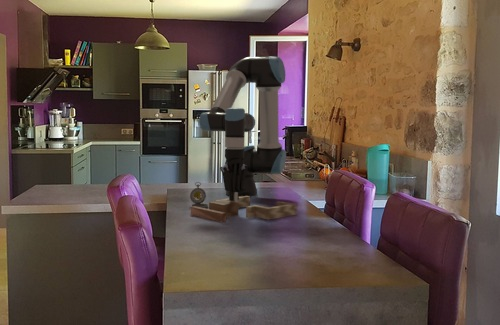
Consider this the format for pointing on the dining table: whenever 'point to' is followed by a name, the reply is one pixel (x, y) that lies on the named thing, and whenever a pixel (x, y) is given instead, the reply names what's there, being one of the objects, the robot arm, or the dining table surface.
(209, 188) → the dining table surface
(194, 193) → the pocket watch
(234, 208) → the block
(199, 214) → the brown wooden pieces
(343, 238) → the dining table surface
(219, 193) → the dining table surface
